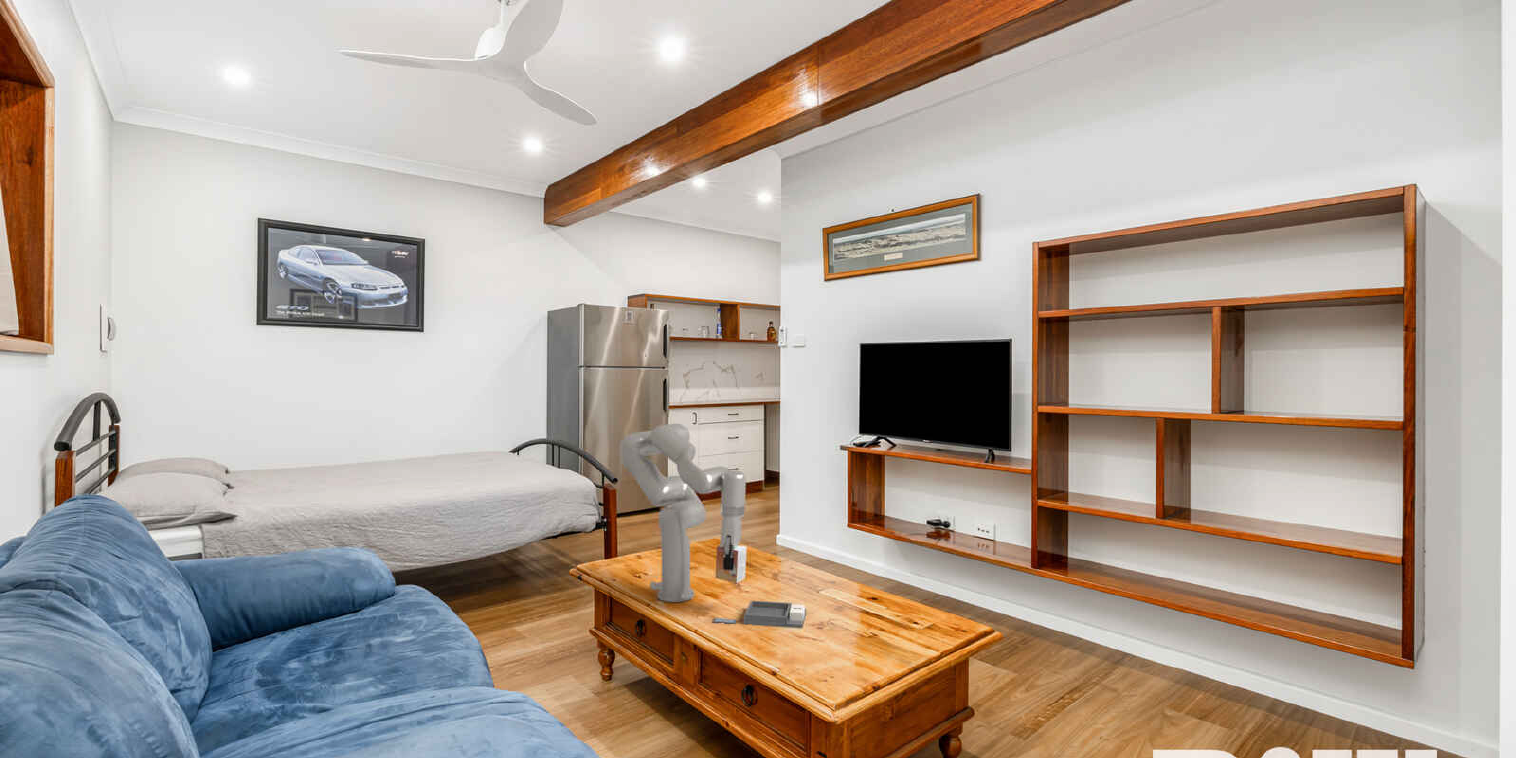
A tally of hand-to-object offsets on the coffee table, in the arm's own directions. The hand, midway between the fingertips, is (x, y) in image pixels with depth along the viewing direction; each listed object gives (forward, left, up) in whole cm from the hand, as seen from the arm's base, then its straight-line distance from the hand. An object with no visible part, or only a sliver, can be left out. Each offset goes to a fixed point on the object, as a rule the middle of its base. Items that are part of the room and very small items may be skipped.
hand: (730, 565), depth 215 cm
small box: (0, 0, -5) cm, 5 cm away
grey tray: (+15, -3, -15) cm, 21 cm away
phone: (0, -8, -16) cm, 18 cm away
